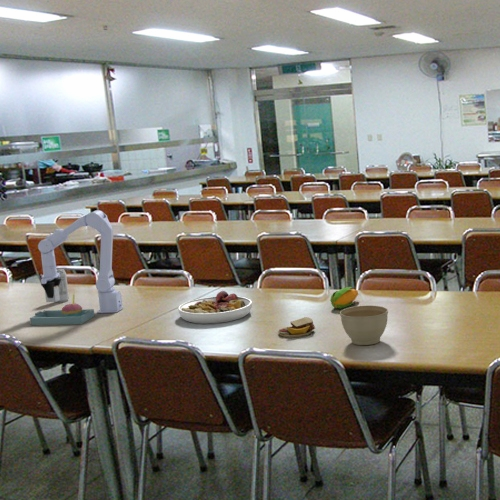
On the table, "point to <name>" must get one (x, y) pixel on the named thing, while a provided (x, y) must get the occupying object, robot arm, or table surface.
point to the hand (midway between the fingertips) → (52, 296)
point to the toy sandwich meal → (298, 328)
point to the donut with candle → (72, 309)
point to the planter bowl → (364, 323)
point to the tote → (60, 317)
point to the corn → (343, 297)
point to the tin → (54, 295)
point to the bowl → (215, 309)
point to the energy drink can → (63, 286)
